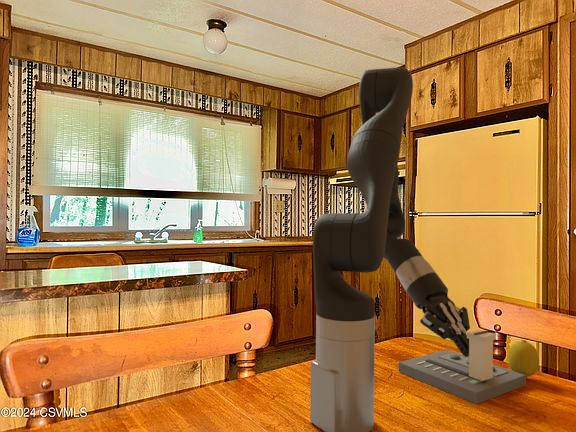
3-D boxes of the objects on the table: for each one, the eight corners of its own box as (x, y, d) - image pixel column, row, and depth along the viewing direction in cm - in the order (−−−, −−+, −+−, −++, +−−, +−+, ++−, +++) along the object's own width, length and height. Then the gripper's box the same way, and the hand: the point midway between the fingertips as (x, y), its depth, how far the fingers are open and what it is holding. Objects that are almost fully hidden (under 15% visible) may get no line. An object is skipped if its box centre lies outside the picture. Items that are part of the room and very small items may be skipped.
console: (476, 404, 74) (476, 389, 74) (398, 371, 89) (398, 359, 89) (525, 385, 83) (525, 371, 83) (447, 358, 98) (447, 347, 98)
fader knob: (482, 382, 77) (483, 335, 77) (466, 375, 80) (466, 331, 80) (495, 377, 80) (495, 332, 80) (478, 372, 82) (479, 328, 82)
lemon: (545, 384, 83) (545, 343, 83) (518, 385, 83) (519, 344, 83) (526, 372, 89) (527, 335, 89) (501, 373, 88) (502, 335, 88)
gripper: (409, 273, 86) (462, 350, 76) (451, 269, 93) (504, 338, 83) (390, 295, 91) (437, 370, 80) (431, 289, 98) (479, 358, 87)
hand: (471, 354), depth 82 cm, fingers closed
